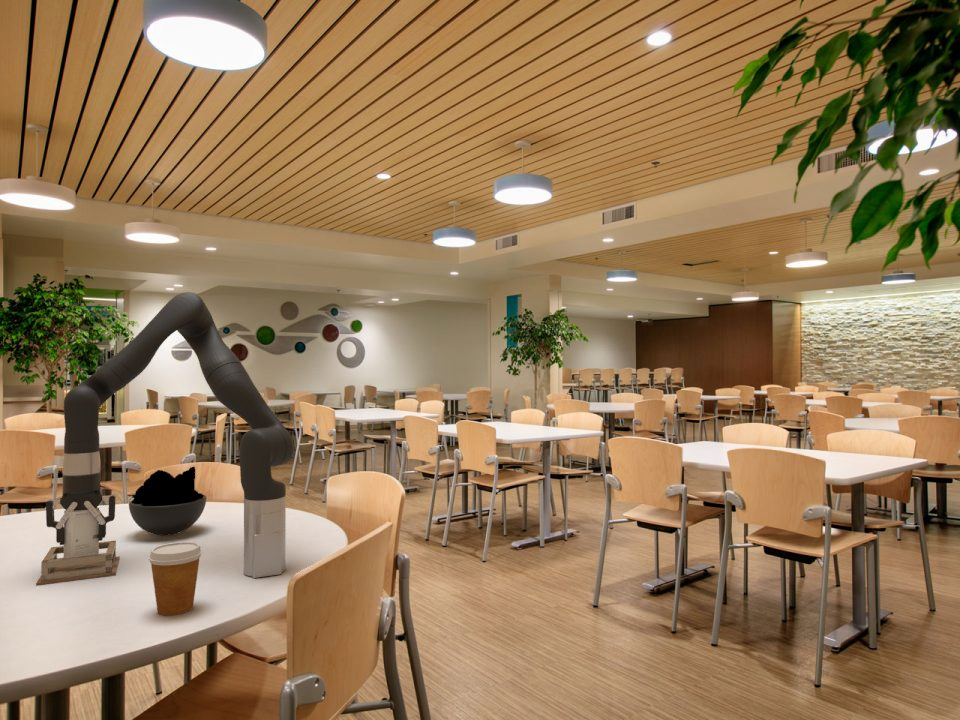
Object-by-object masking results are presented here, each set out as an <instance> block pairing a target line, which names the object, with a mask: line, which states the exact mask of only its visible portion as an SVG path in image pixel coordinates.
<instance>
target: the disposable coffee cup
mask: <svg viewBox="0 0 960 720" xmlns="http://www.w3.org/2000/svg"><path fill="white" fill-rule="evenodd" d="M202 554H203V550H202V549H201V546H200V544H199V543H197V542H193V541H180V542H171V543H165V544H161V545H158V546H155V547H154V548H152V549H151V551H150V554H149V555H148V557H147V559H148V561H149V563H150V565H151V574H152V580H153V581H152V582H153V588H154V589H153V590H154V594H155V595H154V596H155V602H156V603H155V604H156V610H157V614H158V615H161V616H175V615H181V614H184V613H186V612H189V611H191V610H192V609H193V608H194V601H195V596H196V587H197V579H198V572H199V565H200V564H199V563H200V558H201V556H202Z"/></svg>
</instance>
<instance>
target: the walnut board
mask: <svg viewBox="0 0 960 720" xmlns="http://www.w3.org/2000/svg"><path fill="white" fill-rule="evenodd" d="M120 559H121V557H120V555H119V556H118V555H117V556H116V558H115V562H114V566H113V569H112V573H105V574H97V575H89V576H81V577H73V578H65V579H57V580H49V581H41V575H40V576H39V578H38V580H37V581H36V582H35V586H41V585H51V584H57V583H58V584H59V583H65V582H74V581H81V580H89V579H97V578H98V579H100V578H105V577H113V576H116V575H117V574H116V573H117V570H118V567H119V562H120ZM101 566H106V561H102V562H94V563H85V564H77V565H68V566H60V567H55V569H54V571H53V572H59V571H68V570H76V569H84V568H92V567H101Z"/></svg>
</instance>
